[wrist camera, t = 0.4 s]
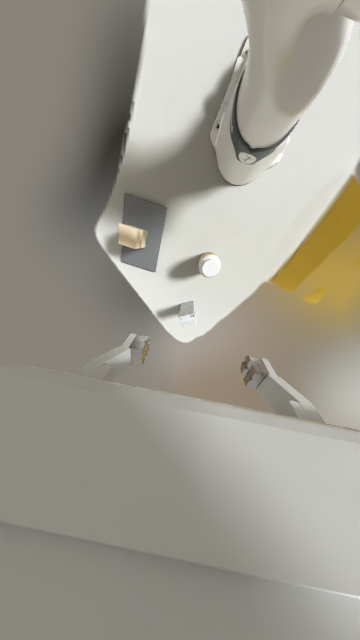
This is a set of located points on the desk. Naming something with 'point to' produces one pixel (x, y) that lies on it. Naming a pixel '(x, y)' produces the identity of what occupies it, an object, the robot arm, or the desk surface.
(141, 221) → the rubber mat
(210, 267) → the supplement bottle
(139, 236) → the birch block
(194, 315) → the skincare box
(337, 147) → the desk surface
